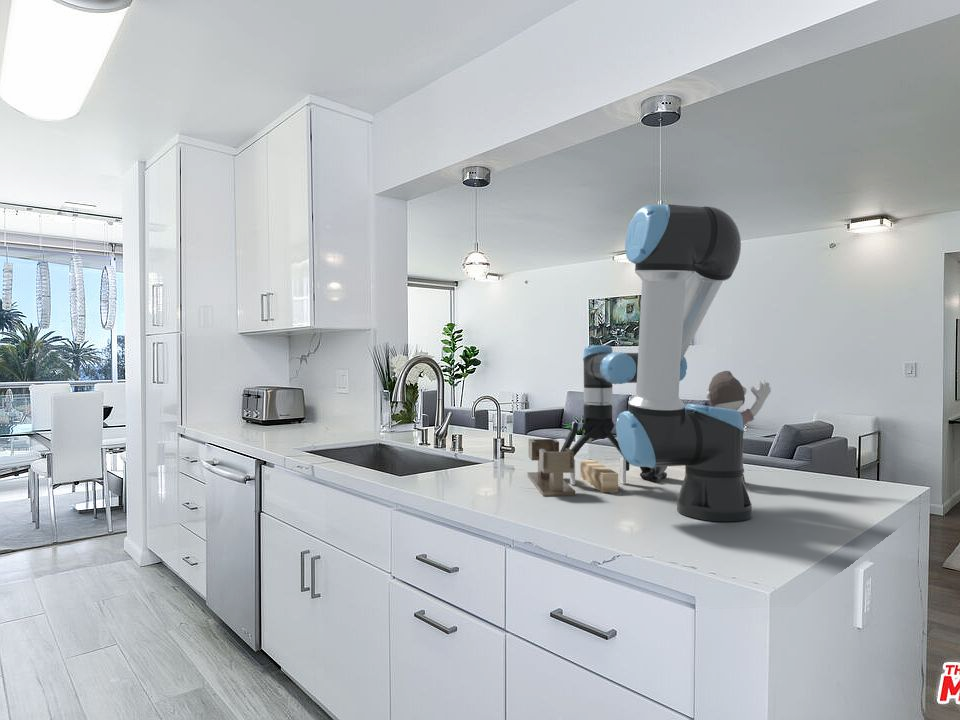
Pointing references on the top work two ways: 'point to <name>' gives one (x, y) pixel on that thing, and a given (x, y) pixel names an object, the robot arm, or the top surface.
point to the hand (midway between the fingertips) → (597, 483)
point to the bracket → (551, 467)
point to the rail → (599, 476)
